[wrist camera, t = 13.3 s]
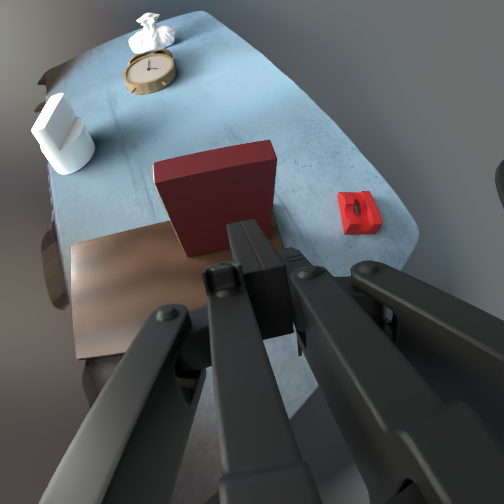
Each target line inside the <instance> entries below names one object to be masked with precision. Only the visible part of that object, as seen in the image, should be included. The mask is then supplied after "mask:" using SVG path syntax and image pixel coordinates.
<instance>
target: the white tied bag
mask: <svg viewBox="0 0 504 504" xmlns="http://www.w3.org/2000/svg"><path fill="white" fill-rule="evenodd" d="M158 17H159V14H154V13H147V14H144V15H143V16H142V17H141V18H139V19H137V20H136V21H137V22H138V23H140V22H141V25H143V26H144V28H143V30H142V31H139V32H137V33H136V34H135V35H133V36H131V38H130V39H129V45H130V47H131V49H132V51H133V52H134V53H136V54H140V53H144V52H147V51H150V50H156V49H158V50H159V49H164V48H165V47H167V46H170V45H172V44H173V42H174V40H175V29H174V28H173V27H171V26H164V25H161V26H157V25H156V24H155V22H157V20H156V18H157V19H158Z"/></svg>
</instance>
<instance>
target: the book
mask: <svg viewBox="0 0 504 504" xmlns="http://www.w3.org/2000/svg"><path fill="white" fill-rule="evenodd" d="M276 166H277V157H276V154H275V152H274V149H273V146H272V144H271V141H270V140H264V141H258V142H252V143H246V144H240V145H235V146H229V147H224V148H219V149H214V150H208V151H204V152H199V153H194V154H189V155H185V156H180V157H176V158H172V159H167V160H163V161H159V162H155V163H153V178H154V184H155V187H156V189H157V191H158V194H159V196H160V198H161V201H162V203H163V205H164V208H165V210H166V212H167V215H168V217H169V219H170V221H171V224H172V226H173V228H174V230H175V233H176V235H177V237H178V239H179V241H180V244H181V246H182V248H183V250H184V252H185V254H186V256H187V257H191V256H196V255H200V254H205V253H210V252H214V251H219V250H224V249H228V248H230V242H229V237H228V232H227V226H226V224H230V223H235V222H241V221H246V220H251V219H255V220H256V222H257V223H258V225H259V226H260V228H261V229H262V231H263V232H264V233H265V235H266V236H267V238H268V239H269V240H270V230H271V220H272V210H273V199H274V188H275V177H276Z"/></svg>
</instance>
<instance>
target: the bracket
mask: <svg viewBox="0 0 504 504" xmlns="http://www.w3.org/2000/svg"><path fill="white" fill-rule="evenodd" d="M337 197H338V202H339V207H340V212H341V218H342V223H343V229H344V234H376V232H377V231H378V230H379V228H380V227H381V225H382V220H381V216H380V212H379V210H378V208H377V206H376V204H375V202H374V199H373V197H372V195H371V193H370V191H362V192H361V193H357V192H339V194H338V196H337ZM354 204H356V205H357V207H358V212H359V215H357V214H356V213H355V209H354Z"/></svg>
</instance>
